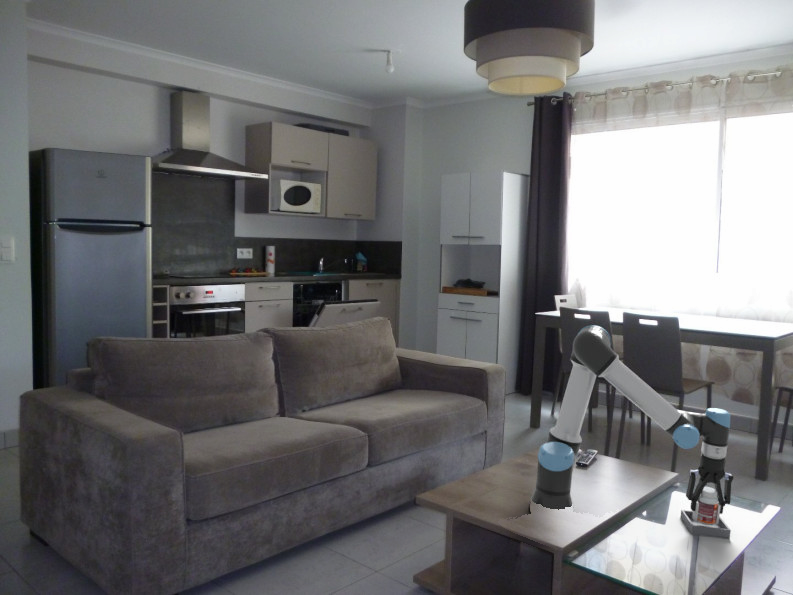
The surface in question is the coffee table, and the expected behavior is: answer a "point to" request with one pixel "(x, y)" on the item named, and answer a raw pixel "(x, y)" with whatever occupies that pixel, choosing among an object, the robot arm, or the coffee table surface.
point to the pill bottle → (707, 506)
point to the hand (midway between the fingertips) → (705, 520)
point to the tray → (705, 526)
